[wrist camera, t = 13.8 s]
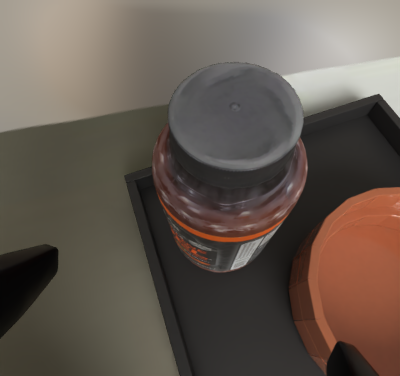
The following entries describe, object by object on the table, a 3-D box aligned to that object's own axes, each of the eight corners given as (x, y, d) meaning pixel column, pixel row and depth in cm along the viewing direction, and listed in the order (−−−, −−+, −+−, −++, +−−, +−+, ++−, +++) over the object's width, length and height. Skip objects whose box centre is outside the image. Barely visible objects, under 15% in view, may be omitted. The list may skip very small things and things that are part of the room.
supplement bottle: (154, 227, 19) (88, 106, 8) (218, 170, 20) (228, 12, 10) (221, 297, 17) (241, 250, 6) (286, 227, 18) (382, 103, 8)
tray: (593, 390, 14) (638, 397, 13) (240, 575, 12) (245, 611, 11) (367, 109, 23) (379, 93, 21) (130, 186, 20) (123, 175, 19)
